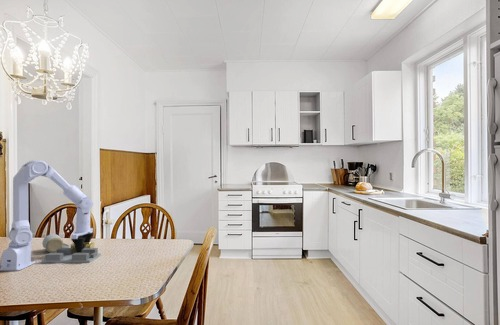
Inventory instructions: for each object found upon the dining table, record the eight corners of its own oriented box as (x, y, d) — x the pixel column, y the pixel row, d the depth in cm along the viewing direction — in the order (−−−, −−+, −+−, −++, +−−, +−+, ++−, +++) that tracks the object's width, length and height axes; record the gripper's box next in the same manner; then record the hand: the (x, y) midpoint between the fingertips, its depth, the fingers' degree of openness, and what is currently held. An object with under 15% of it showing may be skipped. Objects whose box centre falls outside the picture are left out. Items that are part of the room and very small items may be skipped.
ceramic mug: (45, 254, 129) (46, 238, 129) (41, 250, 135) (42, 234, 135) (71, 250, 137) (72, 234, 137) (67, 247, 142) (67, 232, 143)
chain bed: (89, 262, 119) (89, 254, 119) (41, 262, 118) (41, 254, 118) (100, 255, 129) (101, 248, 129) (56, 255, 128) (56, 248, 128)
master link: (90, 255, 130) (90, 243, 130) (70, 255, 129) (70, 243, 129) (93, 252, 133) (94, 241, 133) (74, 252, 133) (75, 241, 133)
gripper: (83, 225, 125) (82, 255, 124) (99, 219, 139) (98, 246, 139) (67, 224, 124) (66, 255, 124) (84, 219, 139) (84, 246, 138)
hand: (82, 250), depth 131 cm, fingers open, 5 cm apart
